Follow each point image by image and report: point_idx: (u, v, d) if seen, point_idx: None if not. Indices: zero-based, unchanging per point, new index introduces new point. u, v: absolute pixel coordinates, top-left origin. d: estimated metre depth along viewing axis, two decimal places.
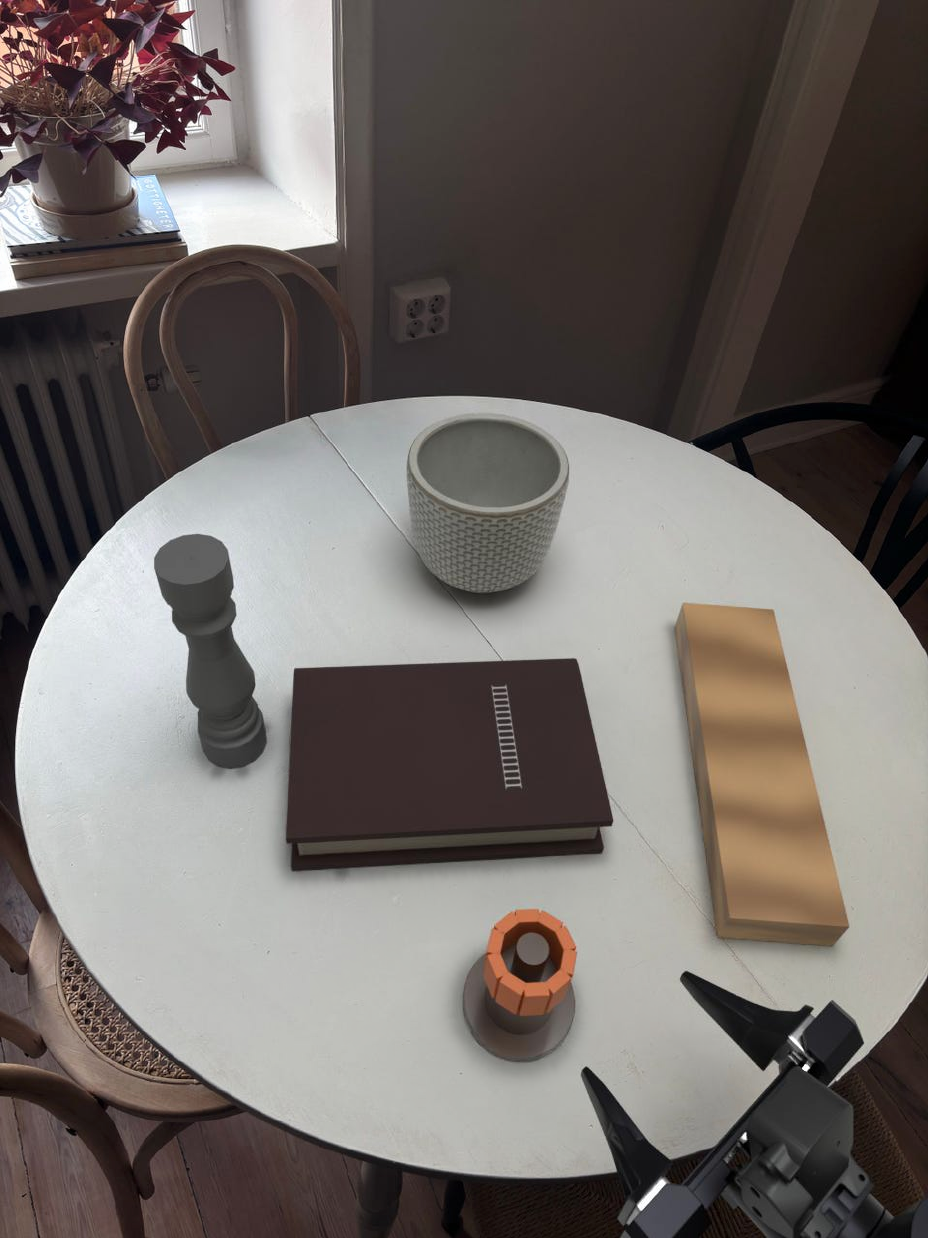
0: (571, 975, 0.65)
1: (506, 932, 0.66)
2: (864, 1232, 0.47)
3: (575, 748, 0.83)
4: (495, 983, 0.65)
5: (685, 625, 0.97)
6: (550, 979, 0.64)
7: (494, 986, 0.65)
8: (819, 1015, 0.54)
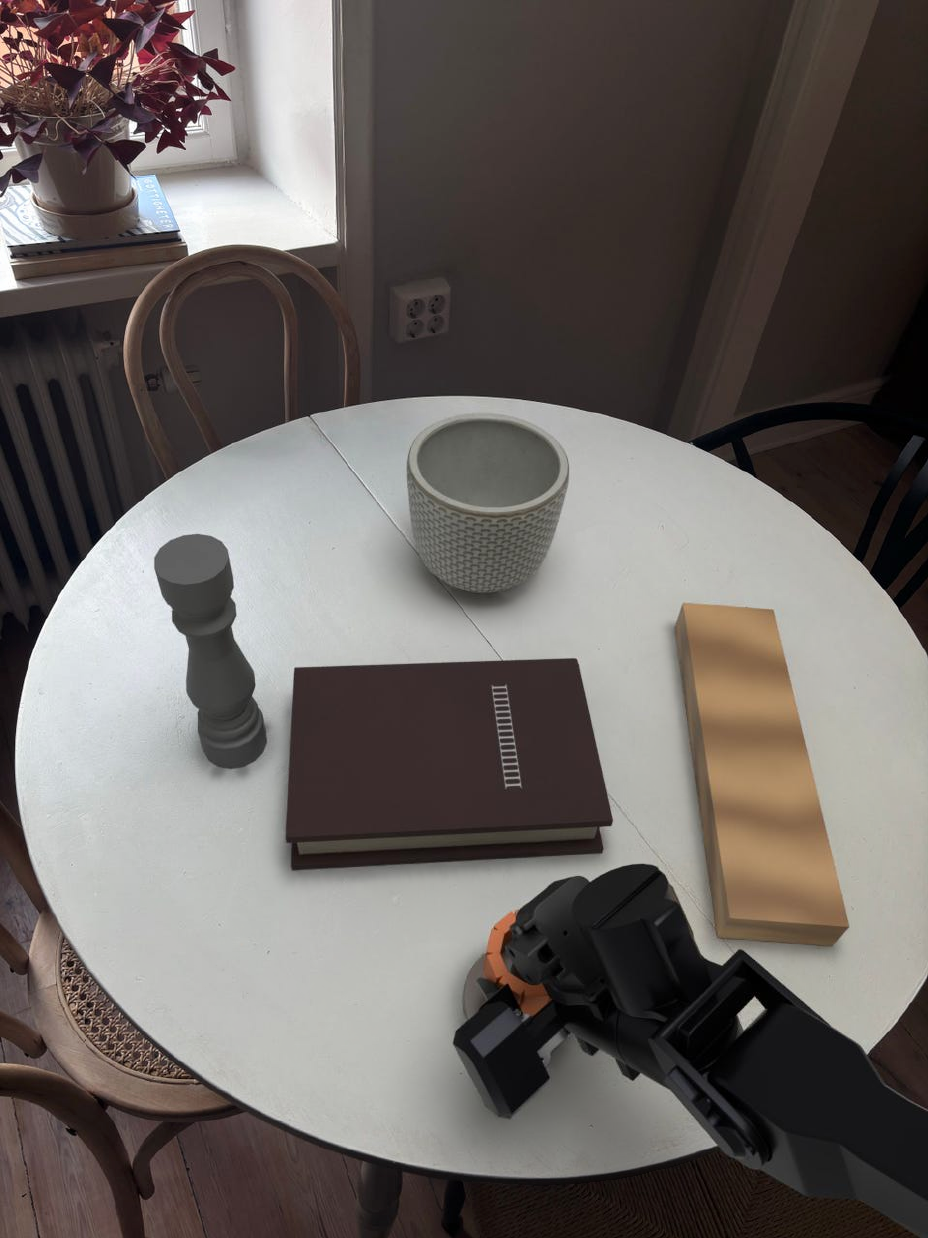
0: None
1: (506, 932, 0.66)
2: None
3: (575, 748, 0.83)
4: (495, 983, 0.65)
5: (685, 625, 0.97)
6: None
7: None
8: None
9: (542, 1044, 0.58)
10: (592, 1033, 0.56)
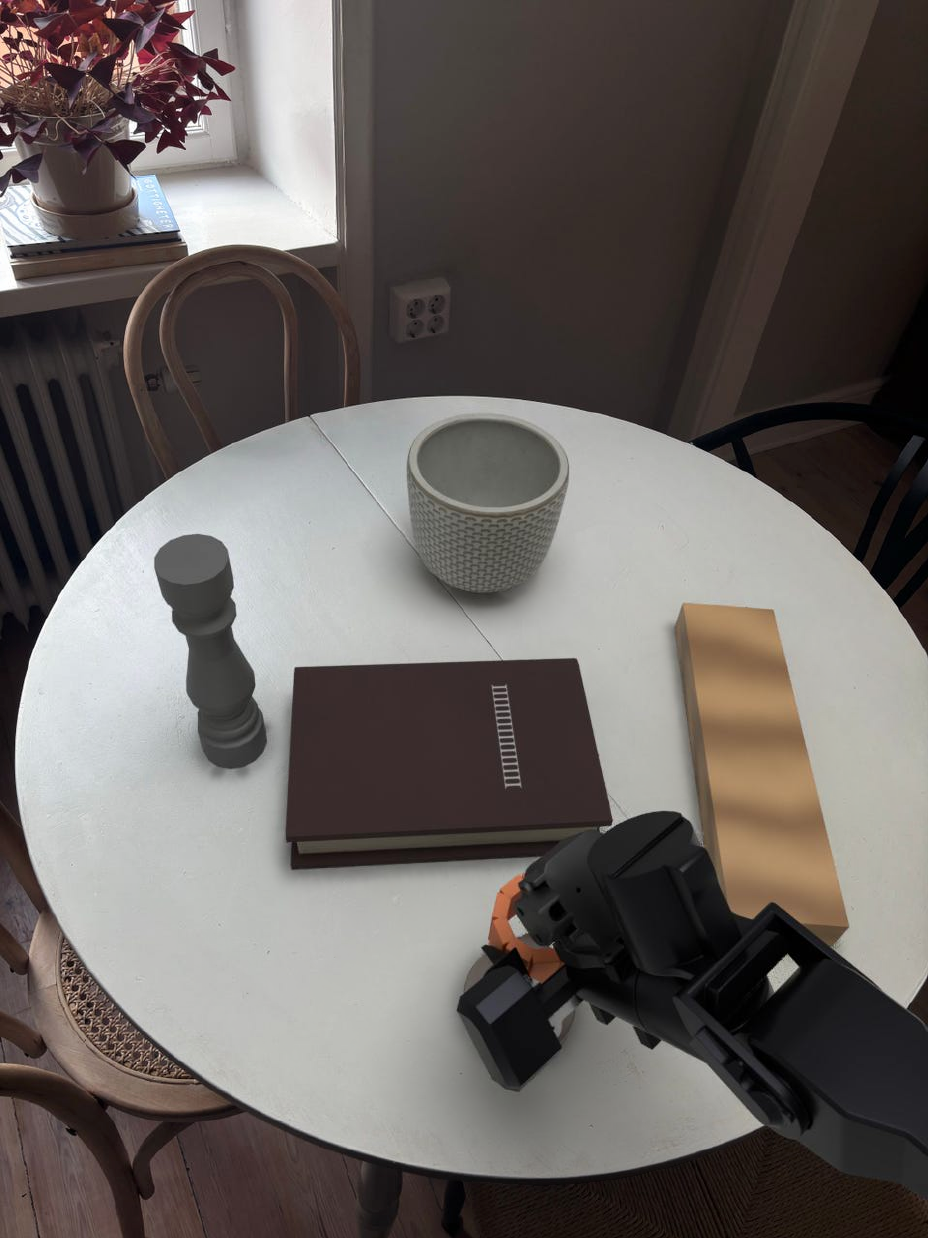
0: None
1: (513, 896, 0.62)
2: None
3: (575, 748, 0.83)
4: (501, 950, 0.61)
5: (685, 625, 0.97)
6: None
7: None
8: None
9: (553, 1011, 0.54)
10: (608, 997, 0.52)
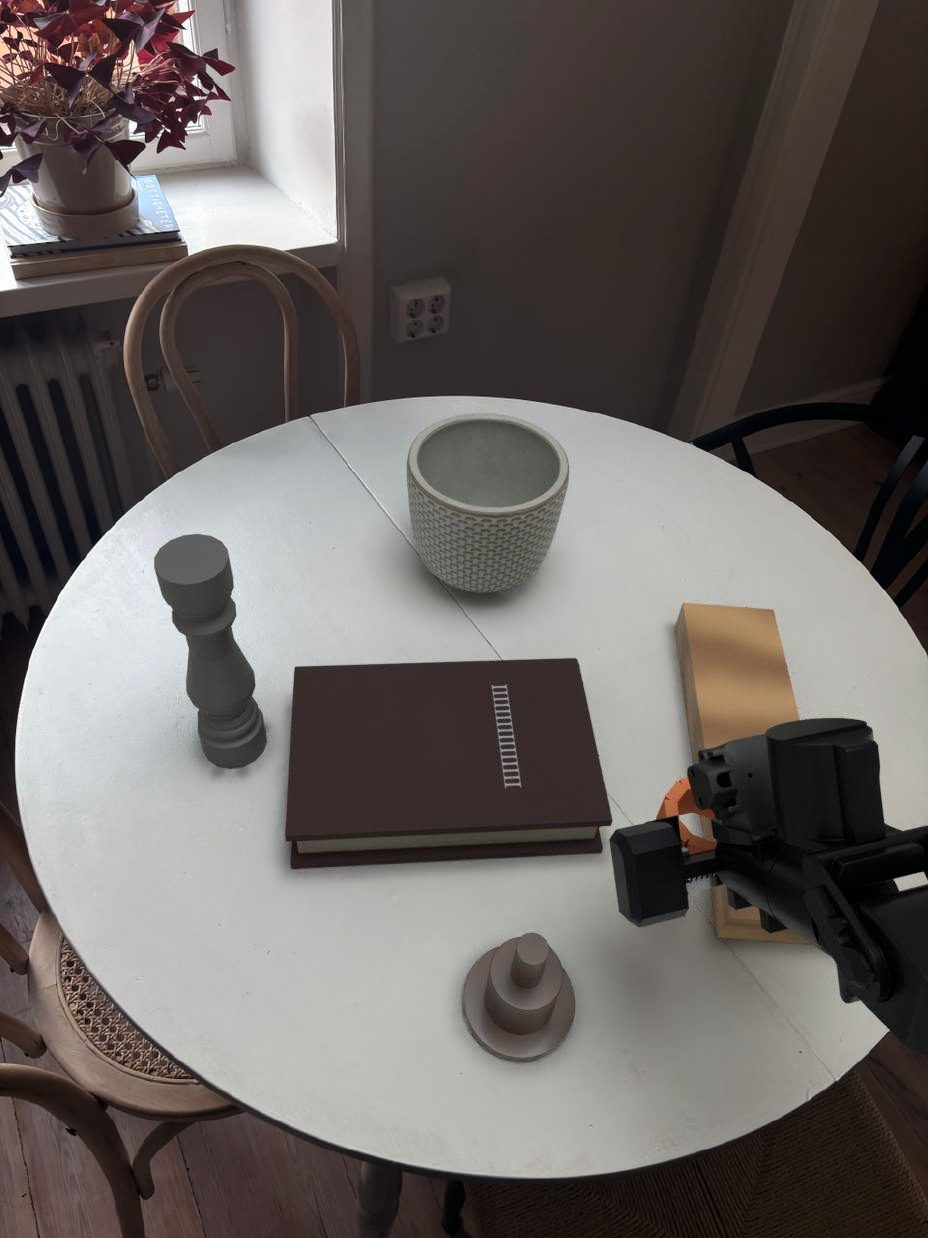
0: None
1: (689, 789, 0.68)
2: None
3: (575, 748, 0.83)
4: None
5: (685, 625, 0.97)
6: None
7: None
8: None
9: (692, 876, 0.60)
10: (744, 874, 0.57)
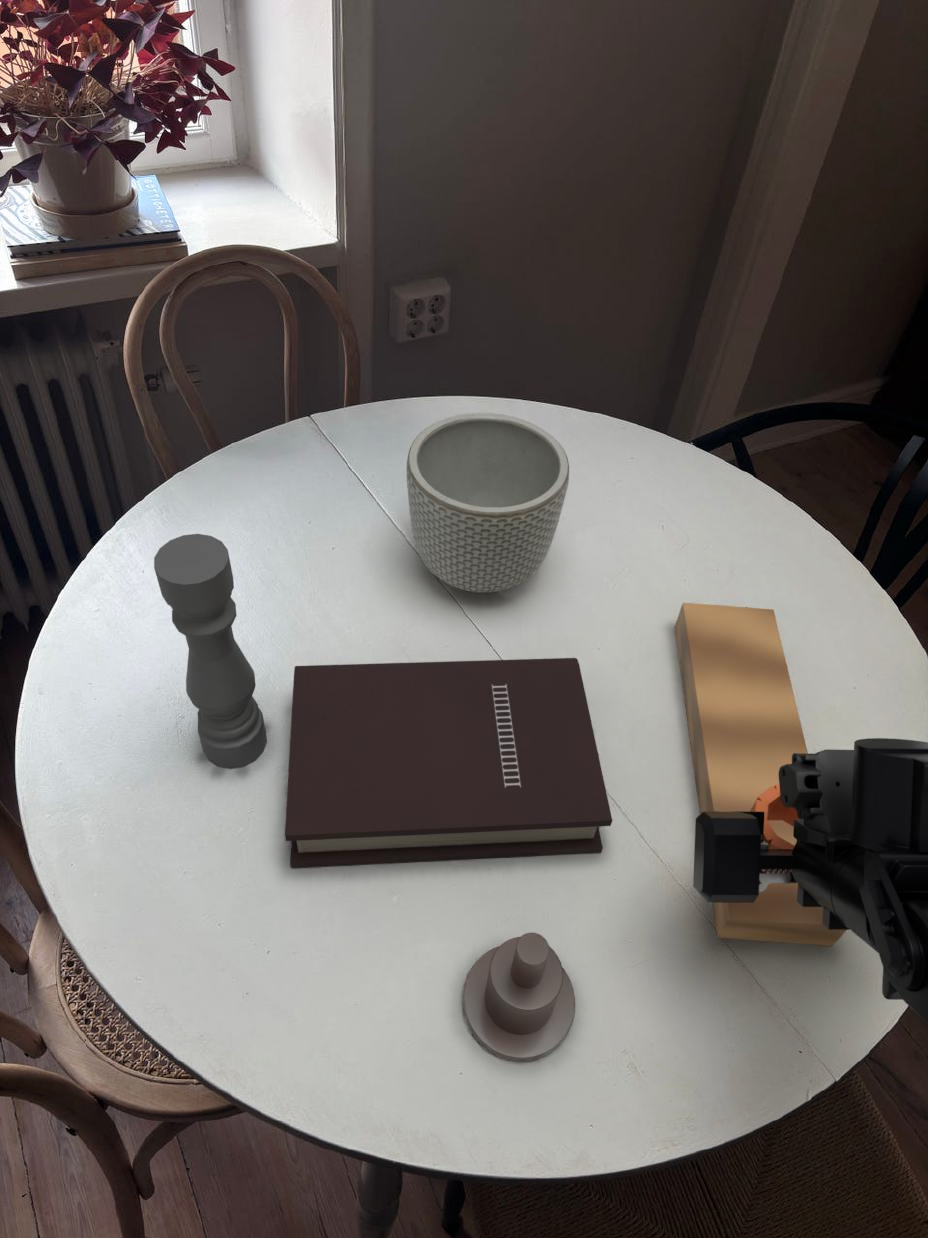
0: None
1: None
2: None
3: (575, 748, 0.83)
4: None
5: (685, 625, 0.97)
6: None
7: None
8: None
9: (766, 867, 0.65)
10: (815, 872, 0.61)
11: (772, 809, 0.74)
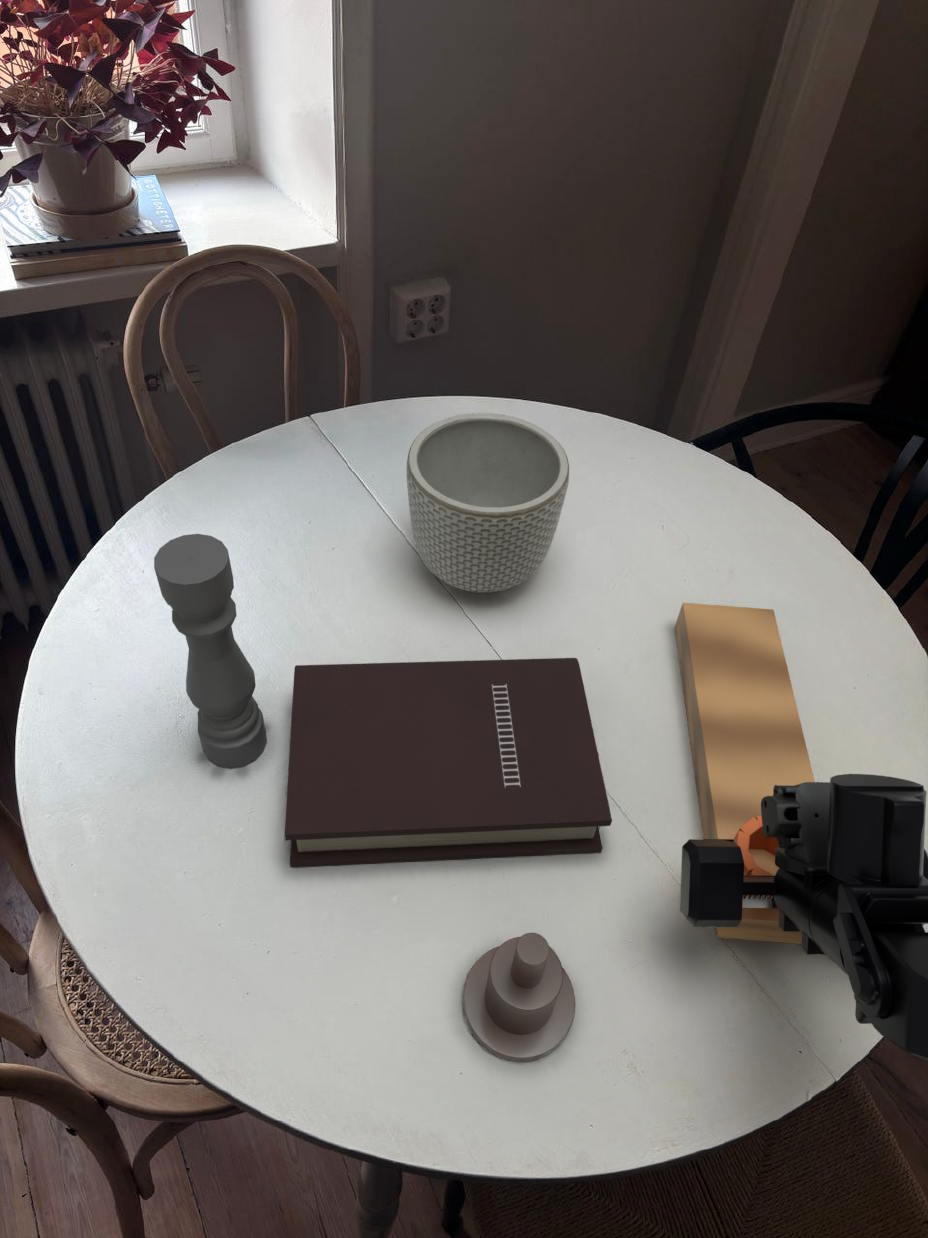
0: None
1: None
2: None
3: (575, 748, 0.83)
4: None
5: (685, 625, 0.97)
6: None
7: None
8: None
9: (749, 893, 0.68)
10: (795, 899, 0.64)
11: (754, 839, 0.78)
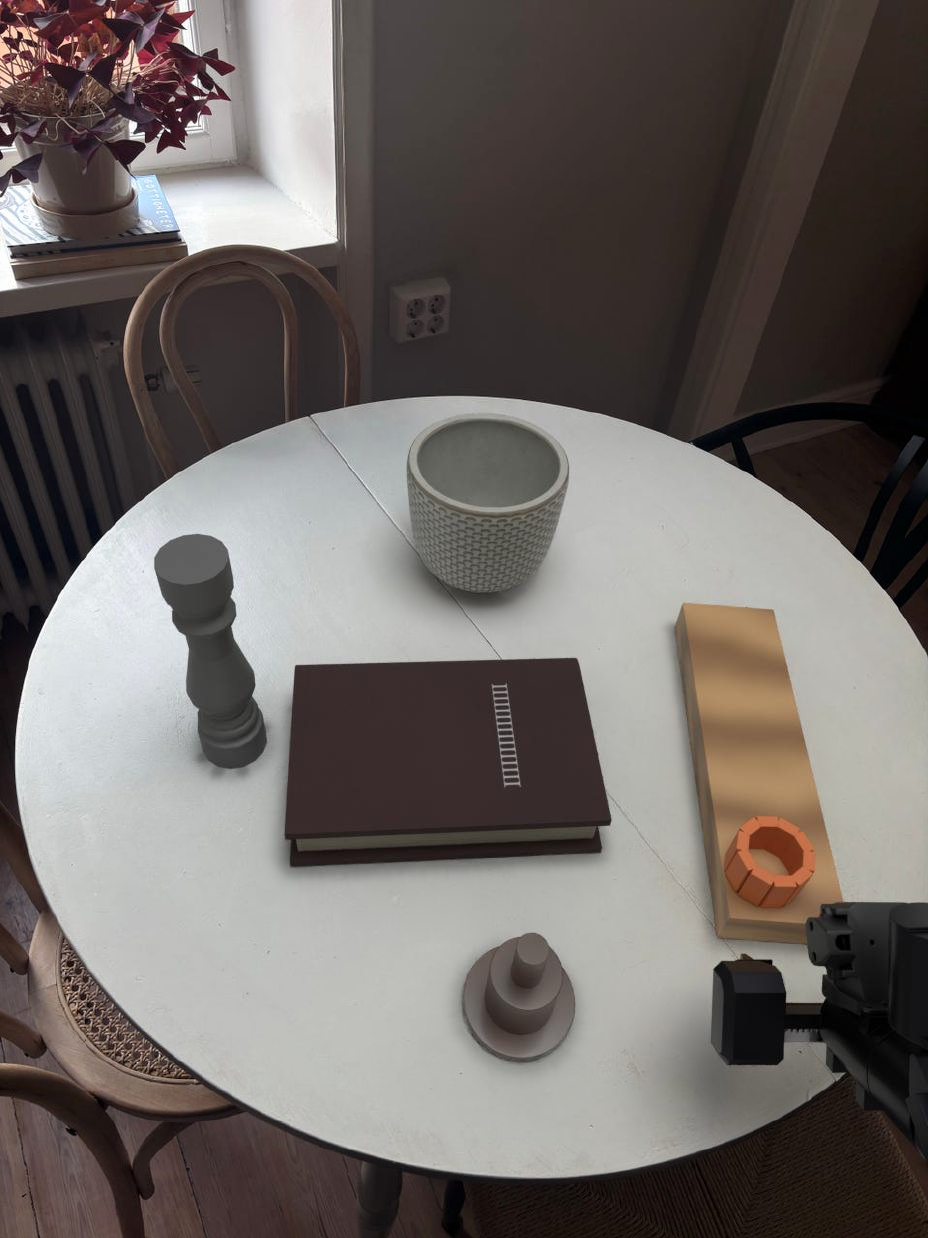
0: (797, 885, 0.73)
1: (763, 826, 0.76)
2: None
3: (574, 748, 0.83)
4: (733, 854, 0.76)
5: (685, 625, 0.97)
6: (778, 876, 0.73)
7: (731, 857, 0.76)
8: None
9: (792, 1027, 0.59)
10: (848, 1043, 0.55)
11: (754, 839, 0.78)
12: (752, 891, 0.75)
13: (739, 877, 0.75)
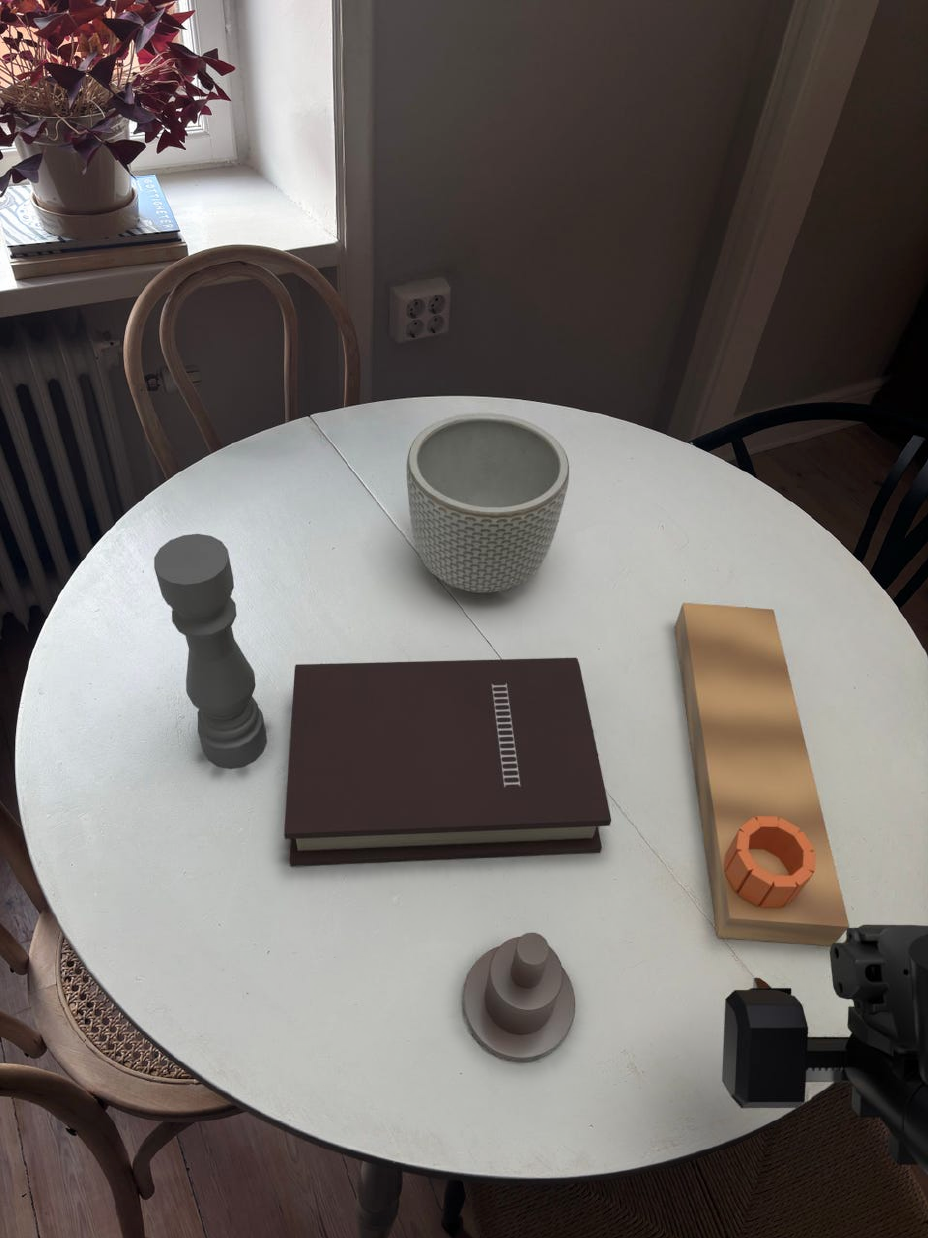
0: (797, 885, 0.73)
1: (763, 826, 0.76)
2: None
3: (574, 748, 0.83)
4: (733, 854, 0.76)
5: (685, 625, 0.97)
6: (778, 876, 0.73)
7: (731, 857, 0.76)
8: None
9: (814, 1066, 0.52)
10: (879, 1086, 0.49)
11: (754, 839, 0.78)
12: (752, 891, 0.75)
13: (739, 877, 0.75)
